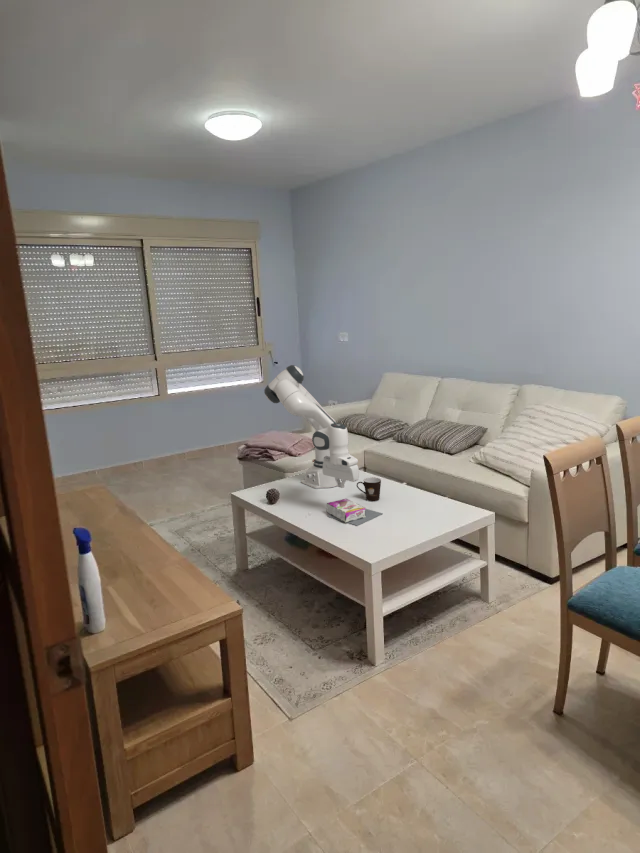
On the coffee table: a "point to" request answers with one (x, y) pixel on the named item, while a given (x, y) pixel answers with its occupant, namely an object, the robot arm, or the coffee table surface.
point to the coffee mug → (371, 488)
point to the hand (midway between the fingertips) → (340, 487)
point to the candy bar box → (346, 510)
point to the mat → (369, 516)
